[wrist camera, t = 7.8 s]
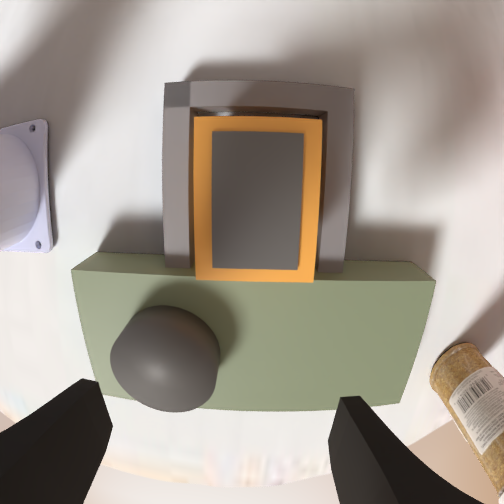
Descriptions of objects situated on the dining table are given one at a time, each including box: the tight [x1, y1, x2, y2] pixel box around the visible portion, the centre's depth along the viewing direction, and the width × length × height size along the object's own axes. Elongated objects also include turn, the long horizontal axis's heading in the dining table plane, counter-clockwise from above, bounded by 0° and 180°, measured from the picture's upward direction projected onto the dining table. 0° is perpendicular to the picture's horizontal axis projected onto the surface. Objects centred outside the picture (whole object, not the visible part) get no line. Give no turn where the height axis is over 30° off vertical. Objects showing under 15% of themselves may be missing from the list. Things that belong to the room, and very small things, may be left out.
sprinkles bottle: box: [430, 343, 504, 504], centre depth 13 cm, size 5×5×13 cm
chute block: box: [193, 116, 322, 283], centre depth 13 cm, size 4×5×6 cm
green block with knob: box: [71, 80, 436, 412], centre depth 14 cm, size 18×17×5 cm
